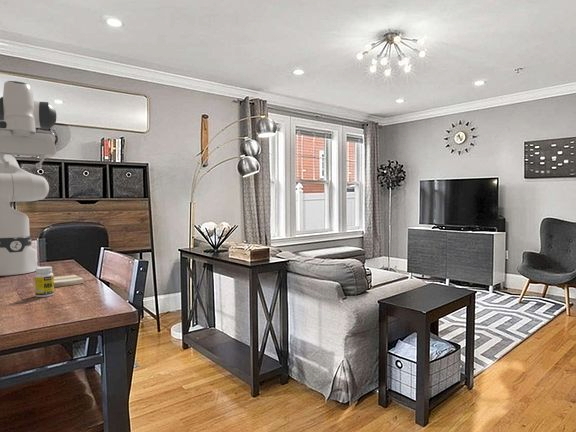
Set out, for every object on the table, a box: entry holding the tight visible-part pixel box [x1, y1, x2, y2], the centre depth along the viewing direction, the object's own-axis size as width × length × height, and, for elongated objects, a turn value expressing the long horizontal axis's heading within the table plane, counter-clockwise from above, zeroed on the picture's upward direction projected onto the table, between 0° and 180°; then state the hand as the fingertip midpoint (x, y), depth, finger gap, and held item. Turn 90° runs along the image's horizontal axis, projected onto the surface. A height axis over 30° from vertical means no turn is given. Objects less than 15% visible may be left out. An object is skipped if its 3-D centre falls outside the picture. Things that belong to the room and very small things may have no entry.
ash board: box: [54, 273, 85, 289], centre depth 134 cm, size 12×11×2 cm
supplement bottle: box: [34, 266, 55, 298], centre depth 117 cm, size 5×5×8 cm
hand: (22, 167), depth 135 cm, fingers open, 8 cm apart
